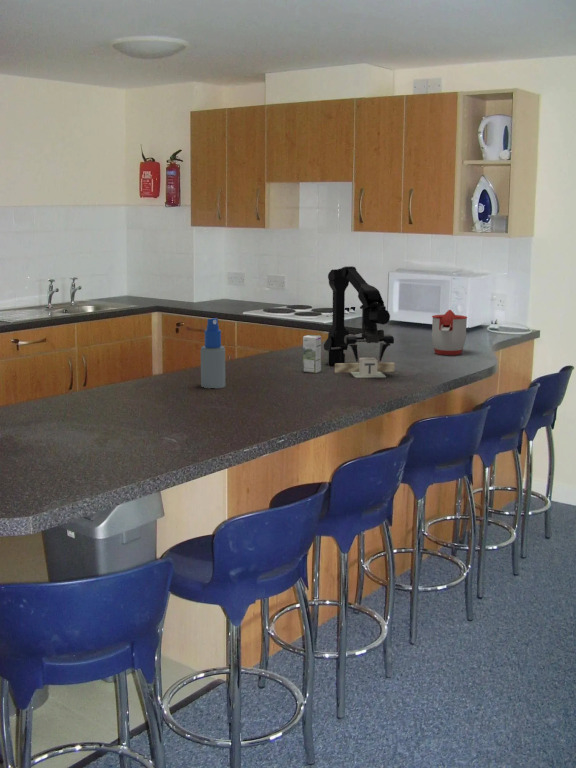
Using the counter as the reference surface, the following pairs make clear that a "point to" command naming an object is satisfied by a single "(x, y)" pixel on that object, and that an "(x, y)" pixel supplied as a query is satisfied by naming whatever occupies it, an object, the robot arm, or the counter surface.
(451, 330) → the citrus juicer
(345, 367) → the birch screen
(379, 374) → the sage mat
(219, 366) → the spray bottle
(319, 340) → the syrup box
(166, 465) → the counter surface
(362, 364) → the letter cube
